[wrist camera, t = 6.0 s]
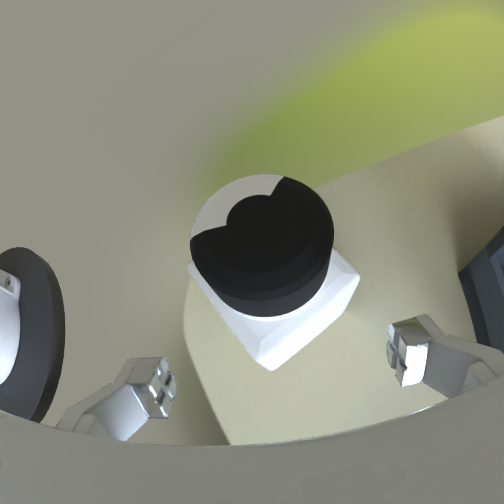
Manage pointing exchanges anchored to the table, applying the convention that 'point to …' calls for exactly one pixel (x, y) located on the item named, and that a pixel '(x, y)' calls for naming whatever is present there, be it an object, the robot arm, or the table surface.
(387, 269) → the table surface
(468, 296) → the drawer
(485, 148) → the table surface
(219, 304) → the medicine bottle
